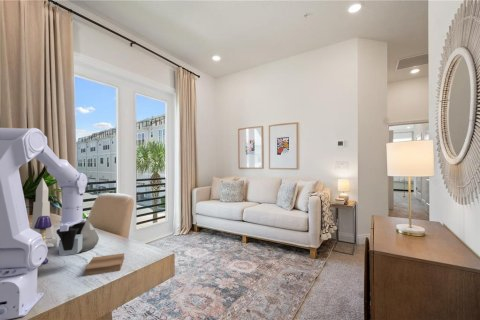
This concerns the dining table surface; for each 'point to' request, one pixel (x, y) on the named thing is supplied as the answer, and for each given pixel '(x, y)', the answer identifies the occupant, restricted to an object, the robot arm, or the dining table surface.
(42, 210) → the sculpture
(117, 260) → the walnut base
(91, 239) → the toy
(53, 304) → the dining table surface
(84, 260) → the dining table surface
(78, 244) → the slate cube
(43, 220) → the toy lamp
